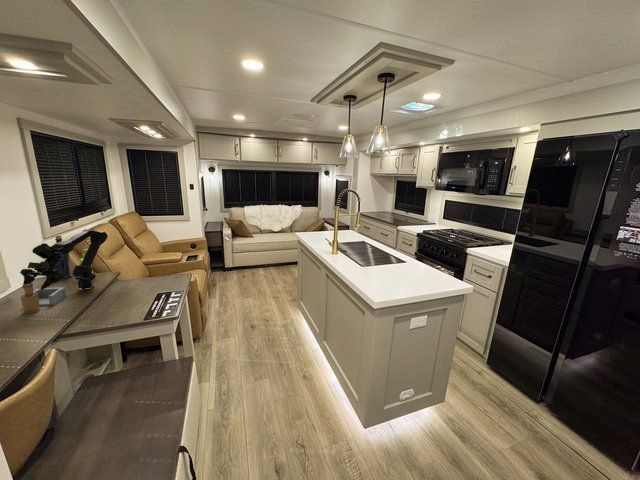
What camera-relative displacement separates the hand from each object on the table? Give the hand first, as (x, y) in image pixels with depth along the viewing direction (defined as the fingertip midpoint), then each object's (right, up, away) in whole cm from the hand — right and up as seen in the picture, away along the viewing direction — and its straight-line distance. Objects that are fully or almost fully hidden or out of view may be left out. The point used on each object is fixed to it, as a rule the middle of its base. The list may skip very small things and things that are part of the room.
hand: (32, 288), depth 136 cm
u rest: (-5, -10, +11) cm, 15 cm away
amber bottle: (-1, -12, +1) cm, 12 cm away
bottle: (-30, -1, +46) cm, 55 cm away
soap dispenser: (-17, -1, +51) cm, 54 cm away
